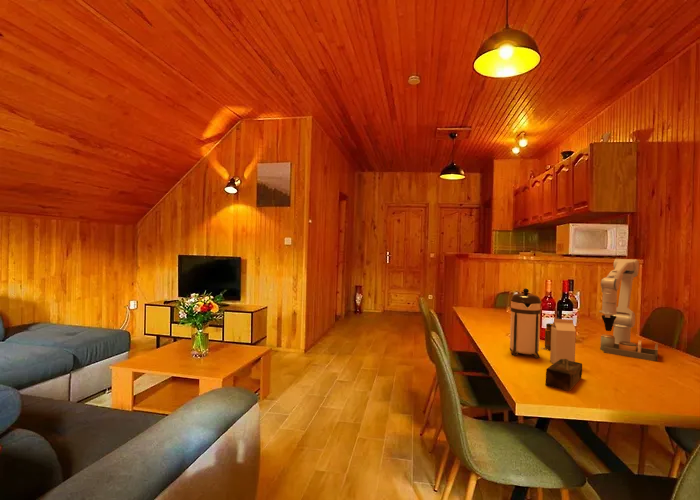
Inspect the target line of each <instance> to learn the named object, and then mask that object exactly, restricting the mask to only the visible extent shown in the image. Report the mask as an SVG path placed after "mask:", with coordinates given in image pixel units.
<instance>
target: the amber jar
mask: <svg viewBox="0 0 700 500" xmlns="http://www.w3.org/2000/svg"><path fill="white" fill-rule="evenodd" d="M637 347H638V344H637V343H634V342H632V341H630V342H626V341H620V342H619V349H621V350H627V351H633V352H637Z"/></svg>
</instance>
